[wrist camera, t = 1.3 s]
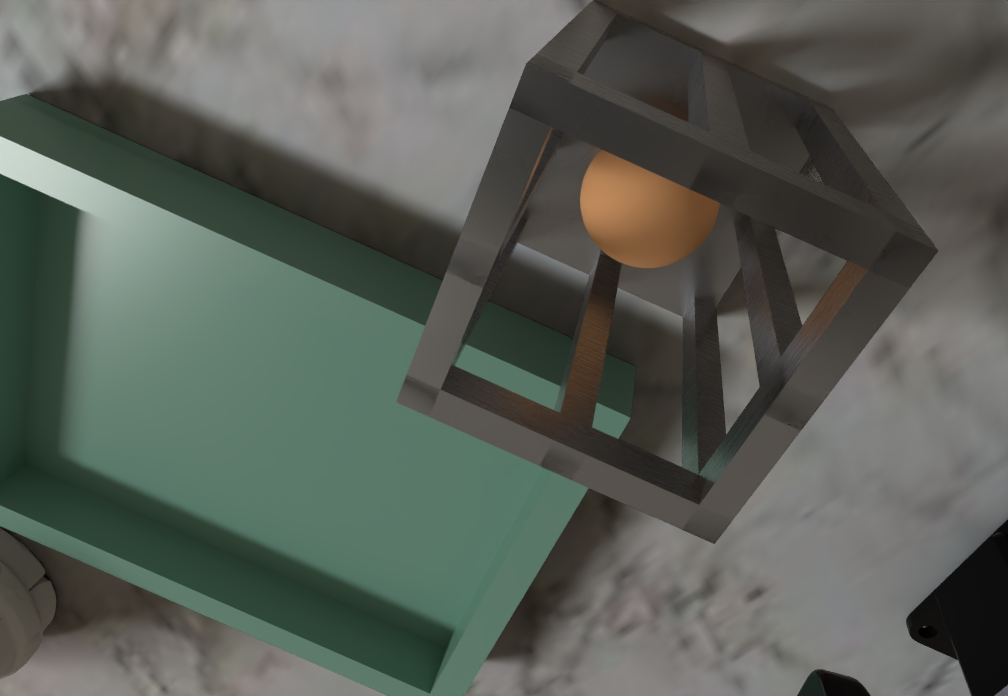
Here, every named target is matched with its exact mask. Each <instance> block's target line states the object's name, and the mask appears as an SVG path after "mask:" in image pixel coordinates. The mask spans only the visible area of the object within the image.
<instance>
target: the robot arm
mask: <svg viewBox="0 0 1008 696" xmlns="http://www.w3.org/2000/svg"><path fill="white" fill-rule="evenodd" d="M906 624H907V628H908V631H909V634H910V636H911V637H912V639H914V640H915V641H917V642H918V643H921V644H923V645H925V646H927V647H930V648H932V649H934V650H936V651H939V652H941V653H943V654H945V655H948V656H950V657H952V658H954V659H957V660H958V661H959V664H960V666H961V669H962V672H963V675H964V677H965V680H966V683H967V685H968V688H969V691H970V694H971V696H1008V520H1007V521H1006V522H1005V523H1004V524H1002V525H1001V526H1000V527H999V528H998V529H997V530H996V531H995V532H994V533H993V534H992V535H991V536H990V537H989V538H988V539H987V540H986V541H985V542H984V543H983V544H982V545H981V546H980V547H979V548H978V549H977V550H976V551H975V552H974V553H972V554H971V555H970V556H969V557H968V558H967V559H966V560H965V561H964V562H963V563H962V564H961V565H960V566H959V567H958V568H957V569H956V570H955V571H954V572H953V573H952V574H951V575H950V576H949V577H948V578H947V579H946V580H945V581H943V582H942V583H941V584H940V585H939V586H938V587H937V588H936V589H935V590H934V591H933V592H932V593H931V594H930V595H929V596H928V597H927V598H926V599H925V600H924V601H923V602H922V603H921V604H920V605H919V606H918V607H917V608H916V609H914V610H913V611H912V612H911V613H910V614H909V616H908V617H907V619H906ZM923 626H929V627H925V628H923ZM797 696H870V694H869V693H868V691H867V690H866V689H865V687H864V686H863V685H862V684H861V683H860V682H859V681H858V680H856V679H854V678H852V677H849V676H845V675H842V674H838V673H834V672H830V671H827V670H823V669H817V670H815V671H813V672H812V673H811V674H810V675H809V676H808V678H807V679H806V681H805V683H804V685H803V686H802V688H801V690H800V692H799V693H798V695H797Z"/></svg>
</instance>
